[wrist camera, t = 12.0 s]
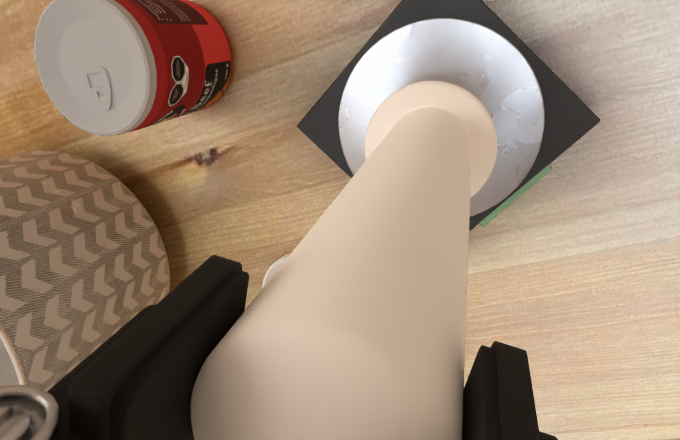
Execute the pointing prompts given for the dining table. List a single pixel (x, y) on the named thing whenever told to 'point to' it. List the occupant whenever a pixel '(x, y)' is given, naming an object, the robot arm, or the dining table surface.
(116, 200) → the planter
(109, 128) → the canned food
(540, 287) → the dining table surface
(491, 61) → the scale
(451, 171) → the candle
